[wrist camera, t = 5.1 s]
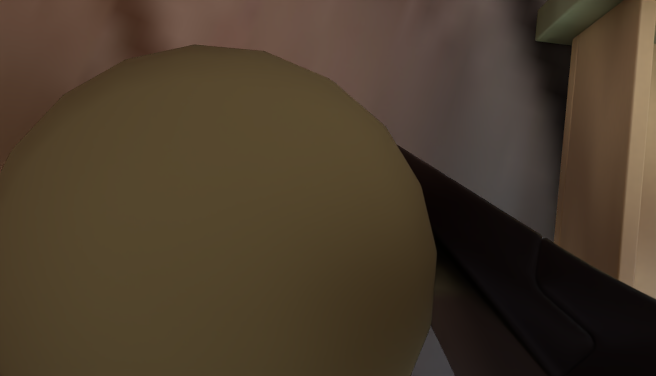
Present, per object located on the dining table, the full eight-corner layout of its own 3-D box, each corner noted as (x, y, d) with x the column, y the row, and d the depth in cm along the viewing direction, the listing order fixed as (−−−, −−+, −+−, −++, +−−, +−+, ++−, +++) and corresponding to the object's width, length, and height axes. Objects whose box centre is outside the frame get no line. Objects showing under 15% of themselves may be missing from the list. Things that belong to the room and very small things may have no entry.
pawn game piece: (297, 102, 16) (230, -174, 5) (425, 256, 16) (661, 325, 5) (141, 228, 16) (-298, 234, 5) (268, 388, 15) (119, 801, 4)
